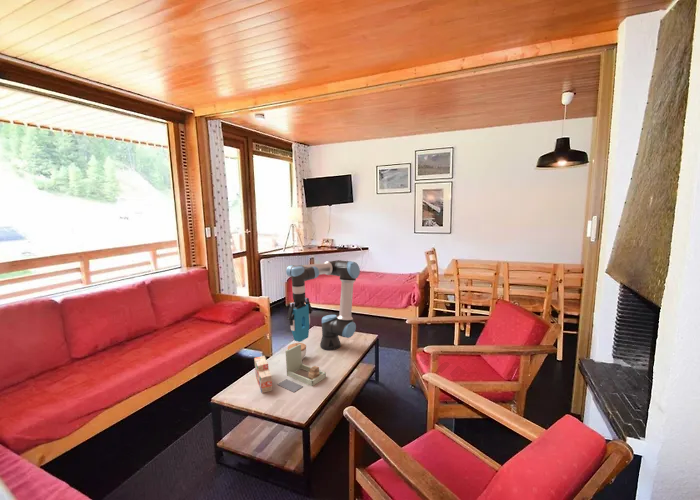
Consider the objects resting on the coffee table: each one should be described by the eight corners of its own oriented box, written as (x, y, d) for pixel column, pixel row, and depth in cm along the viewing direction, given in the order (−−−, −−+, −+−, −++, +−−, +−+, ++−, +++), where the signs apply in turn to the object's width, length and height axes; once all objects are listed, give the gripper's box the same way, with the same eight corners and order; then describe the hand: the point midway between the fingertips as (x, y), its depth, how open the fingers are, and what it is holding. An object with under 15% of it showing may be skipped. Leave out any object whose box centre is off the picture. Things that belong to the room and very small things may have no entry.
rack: (300, 367, 209) (299, 344, 207) (325, 377, 196) (324, 352, 194) (286, 375, 199) (285, 350, 197) (312, 386, 186) (310, 360, 184)
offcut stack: (315, 376, 197) (314, 364, 196) (320, 378, 194) (320, 366, 193) (308, 380, 192) (307, 369, 191) (313, 383, 189) (313, 371, 188)
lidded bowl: (284, 359, 221) (283, 343, 220) (300, 353, 229) (299, 338, 228) (294, 365, 212) (293, 349, 210) (310, 359, 220) (309, 343, 218)
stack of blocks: (272, 390, 183) (271, 370, 182) (261, 393, 181) (260, 373, 179) (265, 373, 202) (264, 355, 201) (255, 376, 200) (254, 357, 198)
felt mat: (286, 379, 194) (286, 379, 194) (302, 386, 186) (302, 386, 186) (277, 384, 189) (277, 384, 189) (294, 392, 180) (293, 391, 180)
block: (298, 343, 190) (296, 310, 187) (291, 341, 192) (289, 309, 190) (310, 335, 200) (309, 304, 197) (304, 334, 202) (302, 303, 200)
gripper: (308, 287, 204) (310, 319, 207) (278, 296, 185) (281, 332, 188) (317, 288, 200) (318, 322, 202) (287, 298, 180) (289, 334, 183)
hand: (300, 326), depth 195 cm, fingers closed on block, 12 cm apart
